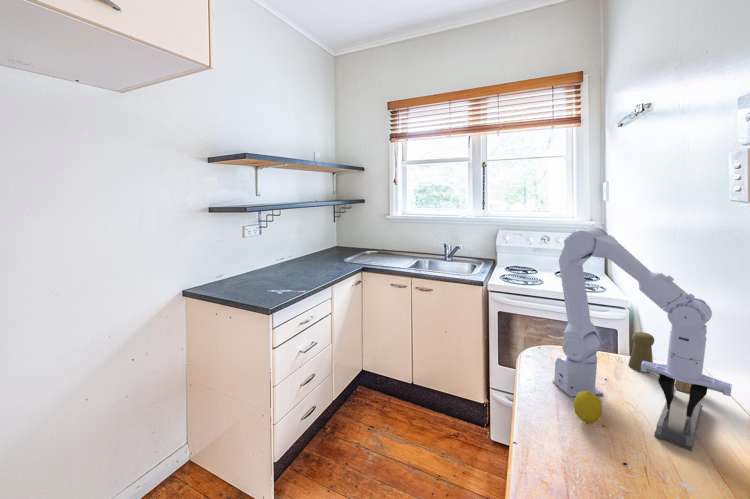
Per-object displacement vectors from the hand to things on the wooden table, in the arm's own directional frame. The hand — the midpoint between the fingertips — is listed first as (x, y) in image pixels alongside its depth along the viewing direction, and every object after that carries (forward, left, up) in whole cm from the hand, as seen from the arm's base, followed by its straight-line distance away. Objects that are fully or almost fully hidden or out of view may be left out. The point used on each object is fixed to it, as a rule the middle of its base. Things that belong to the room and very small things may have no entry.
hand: (679, 411), depth 74 cm
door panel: (0, 0, -3) cm, 3 cm away
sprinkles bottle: (+16, +14, -4) cm, 22 cm away
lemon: (-19, +4, -4) cm, 20 cm away
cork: (+14, +26, -4) cm, 30 cm away
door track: (+2, +2, -4) cm, 5 cm away
